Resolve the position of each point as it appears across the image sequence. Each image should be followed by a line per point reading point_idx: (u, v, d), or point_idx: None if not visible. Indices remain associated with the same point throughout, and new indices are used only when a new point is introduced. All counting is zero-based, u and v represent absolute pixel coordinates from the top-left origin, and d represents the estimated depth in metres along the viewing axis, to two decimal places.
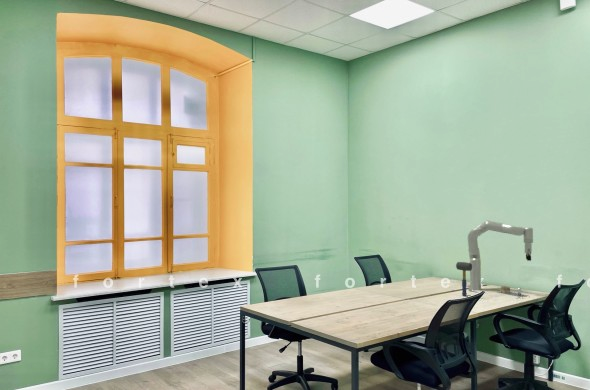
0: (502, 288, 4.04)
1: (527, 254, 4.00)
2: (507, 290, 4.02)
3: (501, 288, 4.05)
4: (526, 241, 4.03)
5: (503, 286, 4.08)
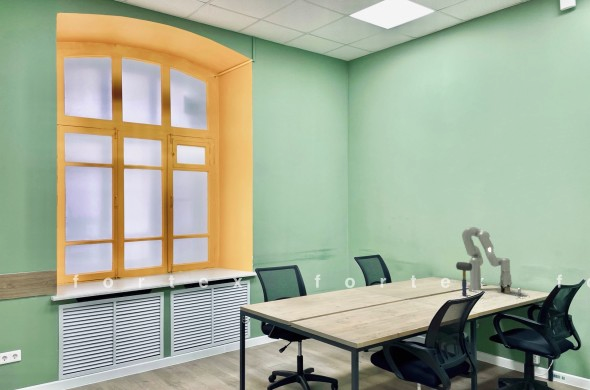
0: None
1: (510, 285, 4.06)
2: (507, 290, 4.02)
3: None
4: None
5: None
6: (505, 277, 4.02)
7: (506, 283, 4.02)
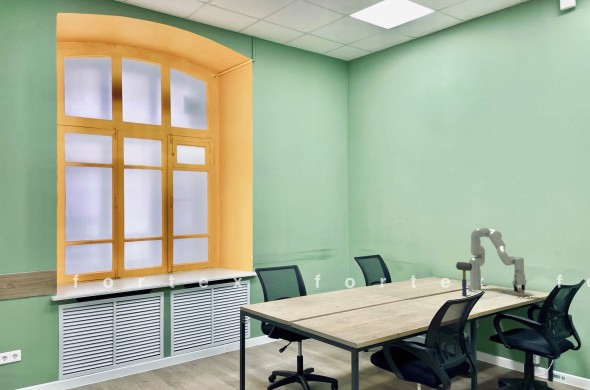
0: None
1: (524, 284, 3.94)
2: (521, 293, 3.89)
3: None
4: None
5: None
6: (519, 276, 3.89)
7: (520, 283, 3.90)
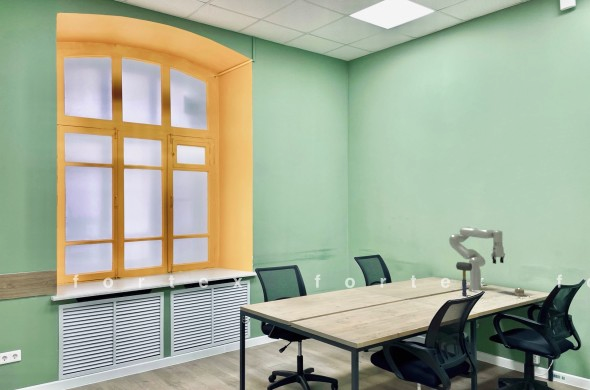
0: (516, 291, 3.92)
1: (503, 256, 4.06)
2: (521, 293, 3.89)
3: (515, 291, 3.93)
4: None
5: (517, 289, 3.95)
6: (498, 249, 4.01)
7: (499, 255, 4.01)
